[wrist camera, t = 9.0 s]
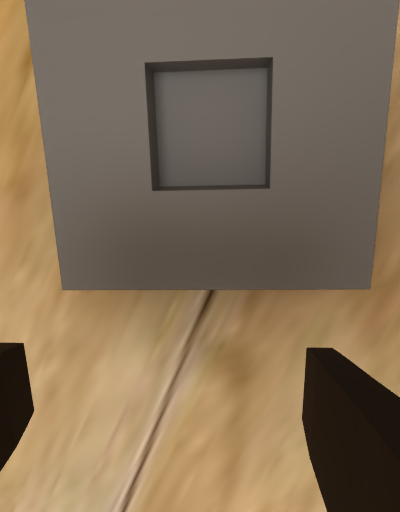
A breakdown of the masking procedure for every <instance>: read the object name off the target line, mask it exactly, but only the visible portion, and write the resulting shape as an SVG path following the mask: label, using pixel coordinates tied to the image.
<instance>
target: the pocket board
mask: <svg viewBox="0 0 400 512" xmlns="http://www.w3.org/2000/svg"><path fill="white" fill-rule="evenodd" d="M25 7H26V15H27V22H28V30H29V38H30V45H31V53H32V61H33V68H34V76H35V83H36V91H37V99H38V106H39V114H40V121H41V129H42V137H43V144H44V152H45V160H46V167H47V175H48V182H49V190H50V198H51V205H52V213H53V220H54V228H55V236H56V243H57V251H58V259H59V266H60V274H61V281H62V289H63V290H315V289H370V288H371V278H372V268H373V258H374V248H375V238H376V228H377V218H378V208H379V198H380V188H381V179H382V169H383V159H384V149H385V139H386V129H387V119H388V109H389V99H390V89H391V79H392V69H393V59H394V49H395V40H396V30H397V20H398V10H399V0H25Z"/></svg>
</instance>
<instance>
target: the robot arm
mask: <svg viewBox="0 0 400 512" xmlns="http://www.w3.org/2000/svg"><path fill="white" fill-rule="evenodd" d="M33 413H34V406H33V400H32V394H31V387H30V381H29V375H28V368H27V362H26V356H25V349H24V343H0V471H1V470H2V468H3V467H4V465H5V464H6V462H7V461H8V459H9V458H10V456H11V455H12V453H13V451H14V450H15V448H16V447H17V445H18V443H19V441H20V439H21V437H22V435H23V433H24V431H25V429H26V427H27V425H28V423H29V421H30V419H31V417H32V415H33ZM302 421H303V426H304V431H305V436H306V442H307V446H308V451H309V456H310V460H311V463H312V466H313V469H314V472H315V476H316V479H317V482H318V485H319V488H320V491H321V494H322V497H323V500H324V503H325V506H326V509H327V512H400V397H398V396H397V395H396V394H394V393H393V392H391V391H390V390H389V389H387V388H386V387H384V386H383V385H382V384H380V383H379V382H378V381H376V380H375V379H374V378H372V377H371V376H370V375H368V374H367V373H366V372H364V371H363V370H362V369H360V368H359V367H358V366H356V365H355V364H354V363H352V362H351V361H350V360H348V359H347V358H346V357H344V356H343V355H342V354H340V353H339V352H338V351H336V350H334V349H333V348H307V351H306V366H305V382H304V397H303V412H302Z"/></svg>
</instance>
